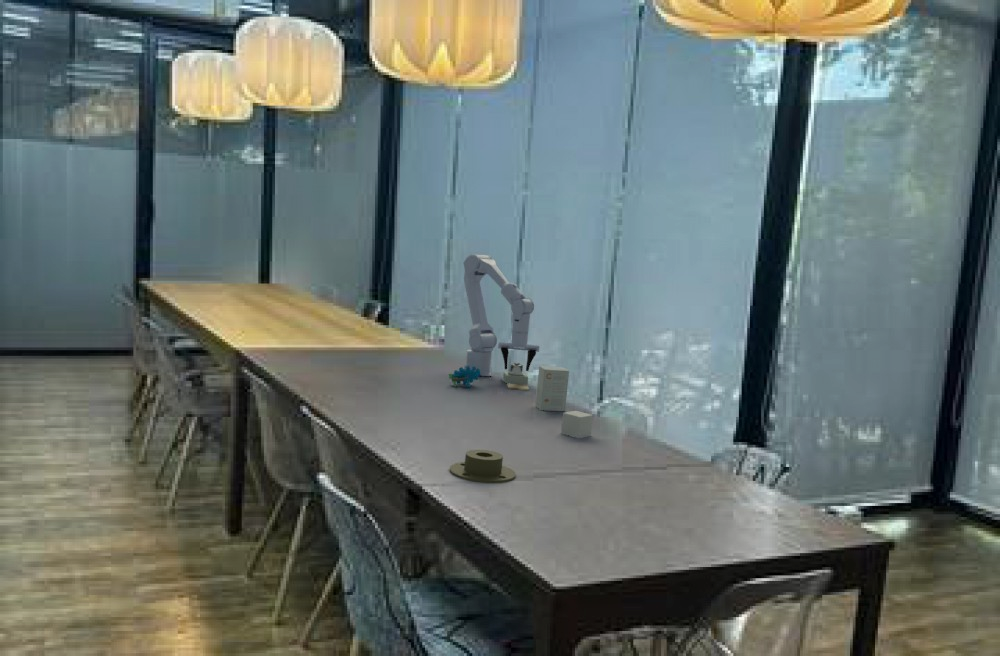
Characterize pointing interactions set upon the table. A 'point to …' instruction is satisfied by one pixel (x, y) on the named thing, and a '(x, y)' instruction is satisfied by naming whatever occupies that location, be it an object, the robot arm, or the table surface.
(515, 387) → the coaster
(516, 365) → the grey cylinder
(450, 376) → the toy stegosaurus
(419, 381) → the table surface
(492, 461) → the flange
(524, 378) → the housing
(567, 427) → the light grey cube
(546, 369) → the small box
